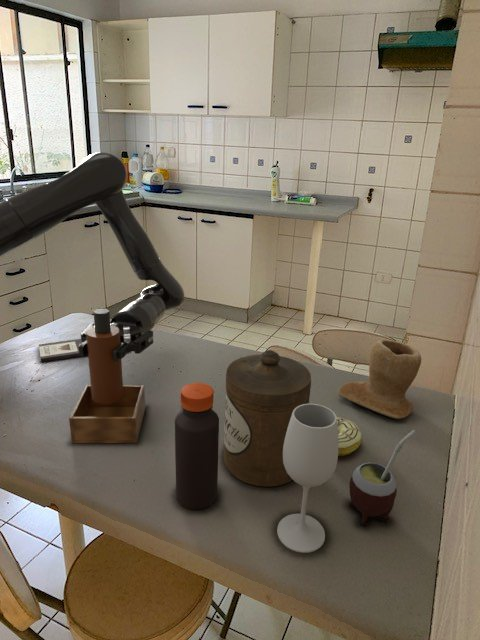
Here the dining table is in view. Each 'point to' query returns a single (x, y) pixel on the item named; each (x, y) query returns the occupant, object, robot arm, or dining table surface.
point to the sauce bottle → (104, 359)
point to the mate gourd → (374, 488)
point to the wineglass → (308, 470)
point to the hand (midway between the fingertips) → (98, 353)
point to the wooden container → (261, 415)
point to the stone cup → (386, 380)
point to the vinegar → (196, 447)
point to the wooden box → (108, 417)
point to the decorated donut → (347, 436)
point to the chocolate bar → (59, 350)
